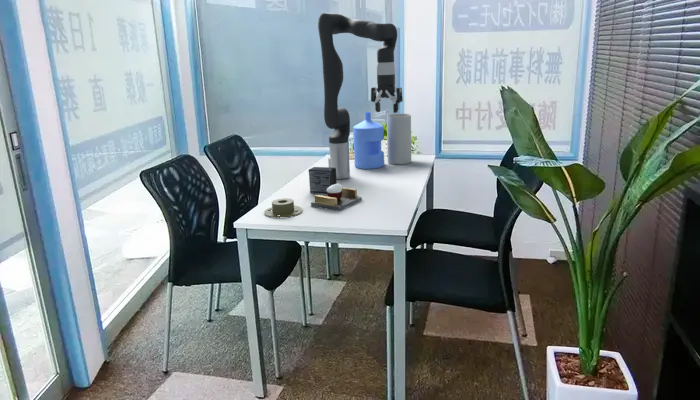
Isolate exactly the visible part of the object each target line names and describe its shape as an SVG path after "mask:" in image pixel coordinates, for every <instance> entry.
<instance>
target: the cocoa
mask: <svg viewBox="0 0 700 400" xmlns="http://www.w3.org/2000/svg"><path fill="white" fill-rule="evenodd" d="M337 180H338V179H336V168H332V183H333V185H331V186H330V187H328V188H327V190H326V191H327V193H326V196H328V197H334V198H337V200H339V199H340V198H341V197H342V187H343V186H342V184H341V183H338V181H337Z"/></svg>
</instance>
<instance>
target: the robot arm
mask: <svg viewBox="0 0 700 400" xmlns="http://www.w3.org/2000/svg"><path fill="white" fill-rule="evenodd" d="M318 16H319V17H318V20H317V29H318V35H319V36H318V37H319V41H320V49H321V50H320V51H321V59H322V75H323V77H322V78H323V88H324V89H323V91H324V92H323V93H324V95H323V96H324V108H323V118H324V119H323V120H324V124H325V125H326V128H328V129H331V130H333V129H334V130H333V132H332V133H331V134H330V135H329V136H328V145H329V146H328V147H329V157H328V158H327V159H328V160H327V161H328V162H327V163H328V167H332V168H336V179H337V180H345V179H349V178H350V177H351V173H350V172H351V171H350V150H349V149H350V148H349V147H350V146H349V145H350V144H349V137H350V133H351V117H350V113H349V111H348V110H347V109H346V108H345V107H342V106H340V107H339V106H338V103H339V102H338V100H339V99H338V98H339V95H340V91H341V88H342V86H343V82H344V65H343V62H342V60H341V58H340V55H339V54H338V52H337V50H336V48H335V45H334V38H333V37H334V36H333V35H338V34H351V35H354V36H355V37H356V36H357V37H359V38H364V39H369V40H372V41H375V42H379V43H381V42H382V47H379V48H378V49H377V51H376V55H377V56H376V58H377V59H376V61H377V62H376V63H377V64H376V65H377V66H376V83H377V87H376V86H374V87H371V88H370V89H371V90H370V101H371V103H372V102H373V103H374V104H375V105H374V106H375V108H374V109H375V111H376V113H380V112H381V101H382V99H390V101H392V104H393V105H392V106H393V110H392V111H393V114H398V111H399V104H400V103H402V102H403V89H402V86H400V87H397V88H396V69H395V68H396V67H395V48H396V43H397V41H398V29H397V27H396V26H395V24H394V23H389V22H388V23H377V22H374V21H372V20H371V21H370V20H365V19H364V20H363V19H355V18H351V17H348V16H345V15H343V14H341V13H337V12H322V13H321V14H320V15H318ZM377 92H378V94H377ZM395 93H396V94H395Z"/></svg>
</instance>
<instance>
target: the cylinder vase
mask: <svg viewBox="0 0 700 400" xmlns="http://www.w3.org/2000/svg"><path fill="white" fill-rule="evenodd" d="M386 134H387V135H386V137H387V138H386V139H387V140H386V141H387V142H386V144H387V145H386V146H387V163H388V164H390V165H398V166H399V165H409V164H410V163H412V114H410V113H392V114H391V113H389V114H387V115H386Z"/></svg>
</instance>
